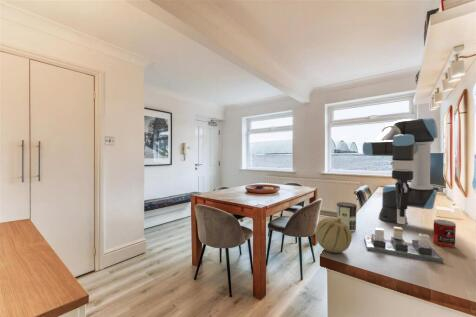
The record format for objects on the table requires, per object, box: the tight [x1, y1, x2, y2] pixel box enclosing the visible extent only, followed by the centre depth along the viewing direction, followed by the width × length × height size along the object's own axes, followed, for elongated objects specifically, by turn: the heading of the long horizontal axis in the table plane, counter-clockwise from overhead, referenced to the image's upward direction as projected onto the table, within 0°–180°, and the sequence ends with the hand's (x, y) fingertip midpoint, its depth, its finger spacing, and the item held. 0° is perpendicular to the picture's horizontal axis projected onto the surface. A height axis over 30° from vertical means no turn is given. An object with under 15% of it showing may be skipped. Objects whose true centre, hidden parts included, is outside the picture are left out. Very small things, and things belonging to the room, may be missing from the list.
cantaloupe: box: [314, 216, 353, 254], centre depth 96 cm, size 15×15×15 cm
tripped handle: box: [392, 226, 404, 239], centre depth 101 cm, size 2×3×5 cm
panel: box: [363, 227, 444, 264], centre depth 98 cm, size 14×26×9 cm, turn 65°
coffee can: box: [336, 201, 358, 232], centre depth 126 cm, size 10×10×14 cm
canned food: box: [432, 219, 457, 249], centre depth 104 cm, size 8×8×11 cm
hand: (401, 223), depth 96 cm, fingers closed
